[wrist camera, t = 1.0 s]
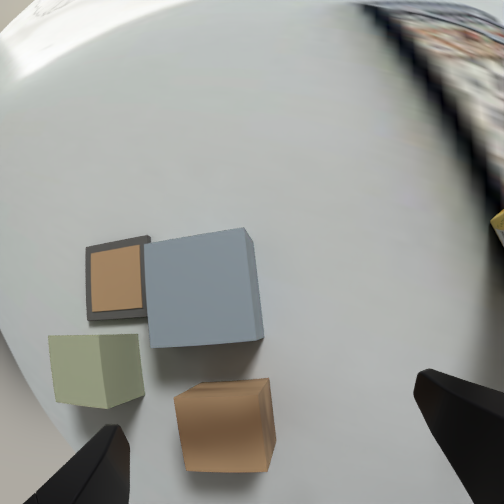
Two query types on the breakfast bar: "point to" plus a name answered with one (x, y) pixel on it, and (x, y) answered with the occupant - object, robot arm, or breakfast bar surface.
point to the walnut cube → (227, 426)
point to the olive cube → (96, 369)
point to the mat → (116, 279)
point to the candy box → (499, 225)
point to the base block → (203, 290)
